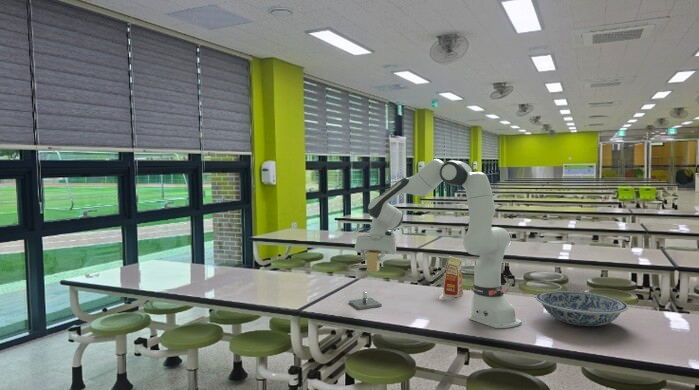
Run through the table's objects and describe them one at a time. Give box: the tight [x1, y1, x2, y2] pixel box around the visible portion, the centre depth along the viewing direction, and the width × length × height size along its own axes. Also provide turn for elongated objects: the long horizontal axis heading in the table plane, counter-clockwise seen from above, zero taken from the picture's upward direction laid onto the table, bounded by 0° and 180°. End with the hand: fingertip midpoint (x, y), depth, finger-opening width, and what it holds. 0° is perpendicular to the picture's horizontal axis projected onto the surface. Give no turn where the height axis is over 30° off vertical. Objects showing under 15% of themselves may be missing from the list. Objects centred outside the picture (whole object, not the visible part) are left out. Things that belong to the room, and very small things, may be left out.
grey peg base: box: [348, 291, 382, 311], centre depth 224 cm, size 12×12×6 cm
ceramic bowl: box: [535, 290, 629, 327], centre depth 192 cm, size 34×34×10 cm
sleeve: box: [366, 250, 381, 273], centre depth 220 cm, size 5×5×9 cm
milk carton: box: [442, 255, 464, 298], centre depth 238 cm, size 9×9×20 cm
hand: (372, 259), depth 219 cm, fingers closed on sleeve, 5 cm apart
